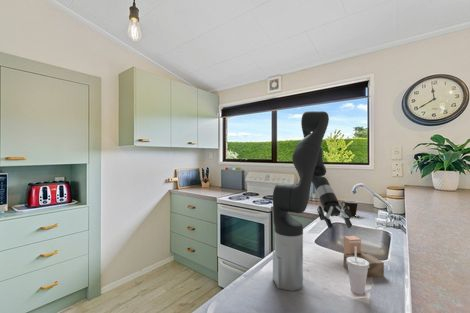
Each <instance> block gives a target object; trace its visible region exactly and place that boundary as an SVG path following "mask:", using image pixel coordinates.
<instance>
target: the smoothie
mask: <svg viewBox="0 0 470 313" xmlns="http://www.w3.org/2000/svg"><path fill="white" fill-rule="evenodd" d="M346 260H347V261H346V262H347V264H348V270H347V271H348V278H349V286H350V291H351V292H353V293H354V294H356V295H364V294H365V290H366V283H367V278H368V277H367V272H368V268H369V262H368V261H366V260H365V259H362V258H359V257H357V247H356V246H355V257H348V258H347V259H346Z"/></svg>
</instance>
